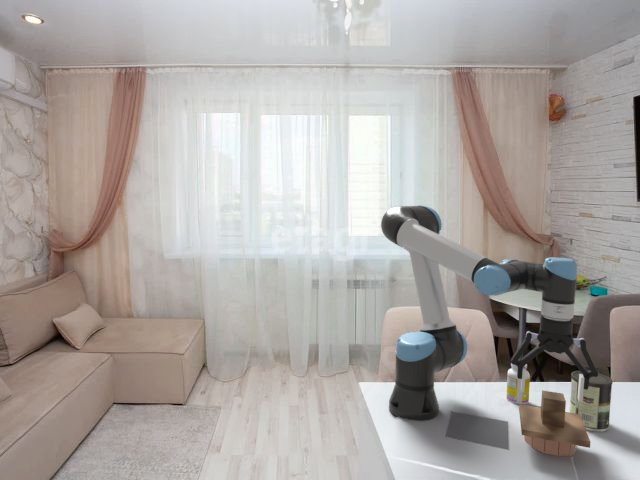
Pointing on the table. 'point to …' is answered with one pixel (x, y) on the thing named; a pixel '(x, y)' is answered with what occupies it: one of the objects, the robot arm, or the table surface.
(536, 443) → the terracotta bowl
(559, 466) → the table surface
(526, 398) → the supplement bottle
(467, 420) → the rubber mat
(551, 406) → the walnut lid
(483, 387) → the table surface
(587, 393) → the coffee can
